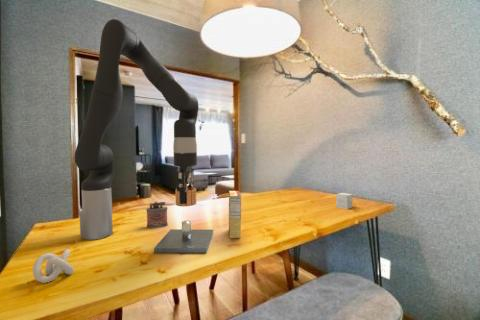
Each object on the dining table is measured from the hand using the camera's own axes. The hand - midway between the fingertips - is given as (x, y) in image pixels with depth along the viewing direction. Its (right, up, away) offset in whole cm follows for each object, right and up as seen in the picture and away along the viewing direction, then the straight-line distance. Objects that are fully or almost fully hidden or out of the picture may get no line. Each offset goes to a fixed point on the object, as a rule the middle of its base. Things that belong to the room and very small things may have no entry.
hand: (186, 201), depth 77 cm
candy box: (+16, -14, +8) cm, 23 cm away
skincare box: (+74, -12, +46) cm, 88 cm away
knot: (-27, -16, -20) cm, 37 cm away
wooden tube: (0, -1, 0) cm, 1 cm away
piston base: (0, -14, +1) cm, 14 cm away
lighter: (-16, -14, +17) cm, 27 cm away
